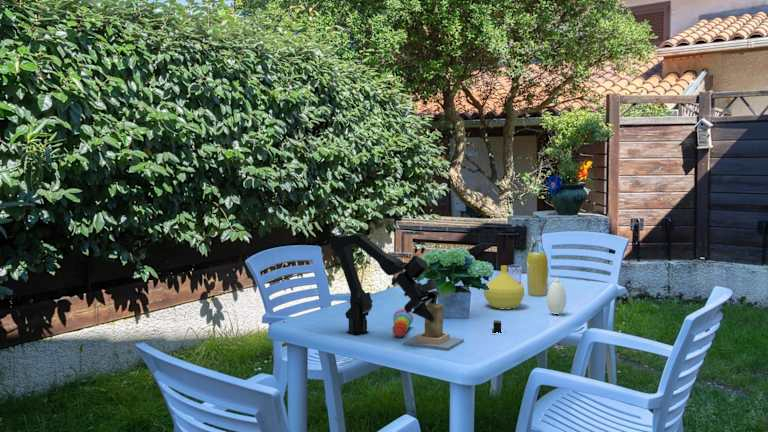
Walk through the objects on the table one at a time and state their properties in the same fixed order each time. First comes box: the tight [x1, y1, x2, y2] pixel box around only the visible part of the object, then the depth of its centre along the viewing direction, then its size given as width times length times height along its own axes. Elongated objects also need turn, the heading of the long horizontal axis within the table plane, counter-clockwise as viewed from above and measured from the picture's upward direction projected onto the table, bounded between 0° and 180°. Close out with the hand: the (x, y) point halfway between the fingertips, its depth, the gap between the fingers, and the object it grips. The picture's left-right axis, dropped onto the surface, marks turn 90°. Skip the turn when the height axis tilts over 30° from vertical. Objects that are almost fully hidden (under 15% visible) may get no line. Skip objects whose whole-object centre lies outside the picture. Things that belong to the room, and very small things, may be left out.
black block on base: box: [491, 319, 502, 333], centre depth 264 cm, size 12×7×5 cm, turn 172°
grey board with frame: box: [402, 332, 465, 351], centre depth 247 cm, size 18×14×3 cm
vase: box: [483, 264, 525, 309], centre depth 309 cm, size 18×18×19 cm
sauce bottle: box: [546, 273, 567, 313], centre depth 292 cm, size 8×8×18 cm
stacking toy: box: [392, 307, 414, 338], centre depth 263 cm, size 8×8×19 cm
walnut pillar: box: [423, 303, 444, 338], centre depth 246 cm, size 5×5×13 cm
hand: (436, 319), depth 246 cm, fingers open, 6 cm apart
